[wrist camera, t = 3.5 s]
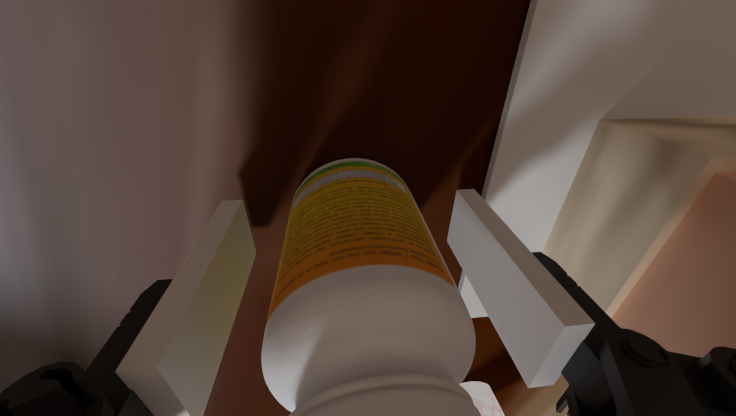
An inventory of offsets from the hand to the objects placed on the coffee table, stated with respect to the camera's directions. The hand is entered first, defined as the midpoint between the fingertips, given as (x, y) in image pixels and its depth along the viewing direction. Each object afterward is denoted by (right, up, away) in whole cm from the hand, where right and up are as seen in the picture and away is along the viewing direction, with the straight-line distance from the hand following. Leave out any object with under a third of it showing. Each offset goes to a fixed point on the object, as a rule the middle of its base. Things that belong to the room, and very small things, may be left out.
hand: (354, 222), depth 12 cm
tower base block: (+14, +1, +2) cm, 14 cm away
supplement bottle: (0, +1, +1) cm, 1 cm away
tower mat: (+14, +1, +2) cm, 14 cm away
